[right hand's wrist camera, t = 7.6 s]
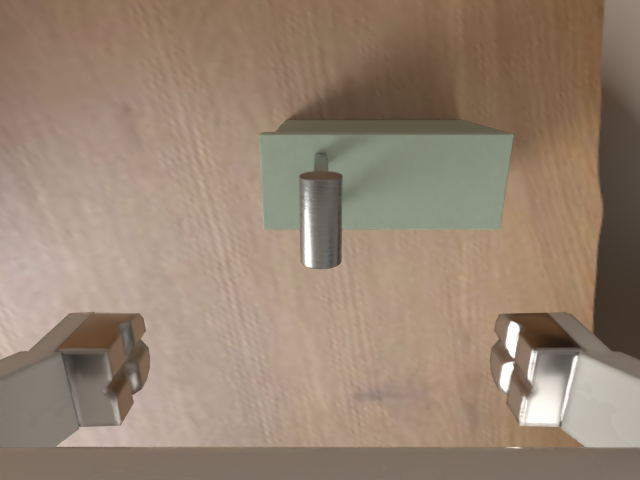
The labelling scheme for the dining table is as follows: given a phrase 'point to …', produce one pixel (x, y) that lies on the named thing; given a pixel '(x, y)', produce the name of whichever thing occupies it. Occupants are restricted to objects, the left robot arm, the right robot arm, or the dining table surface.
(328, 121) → the chest
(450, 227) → the lid
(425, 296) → the dining table surface
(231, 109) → the dining table surface
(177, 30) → the dining table surface
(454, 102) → the dining table surface
